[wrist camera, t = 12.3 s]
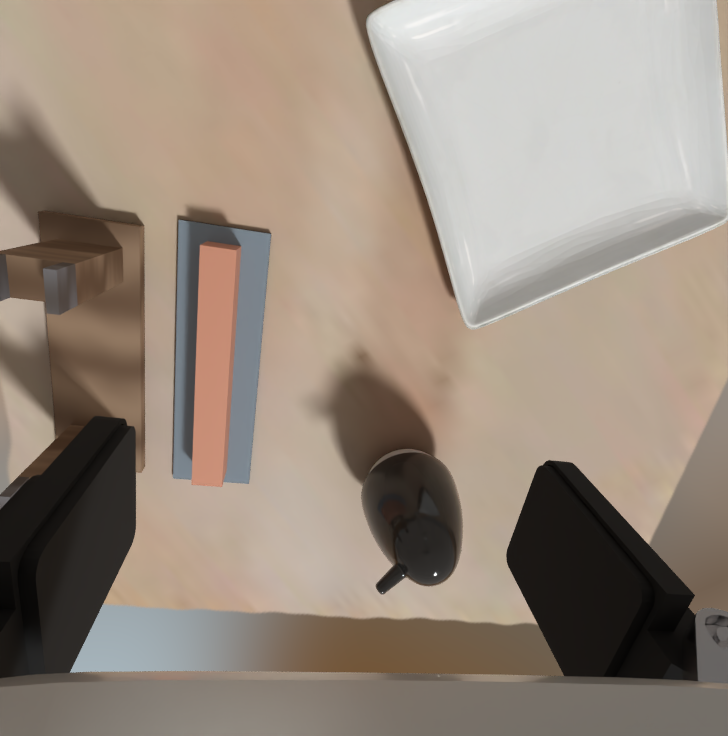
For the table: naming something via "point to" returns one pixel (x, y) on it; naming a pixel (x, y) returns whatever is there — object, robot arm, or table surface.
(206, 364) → the rail
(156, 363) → the table surface
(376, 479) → the pump dispenser
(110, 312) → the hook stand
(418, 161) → the square plate
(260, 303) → the mat
